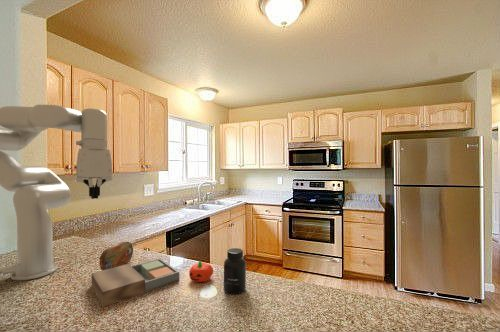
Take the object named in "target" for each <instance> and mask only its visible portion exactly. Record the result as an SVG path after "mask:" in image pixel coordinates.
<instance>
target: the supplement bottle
mask: <svg viewBox="0 0 500 332" xmlns="http://www.w3.org/2000/svg"><path fill="white" fill-rule="evenodd" d="M226 256H227V258H225V260H224V262H223V290H224V292H225V293H226V294H228V295H240V294H243V293H244V292H245V291H246V287H247V284H246V283H247V282H246V281H247V277H246V276H247V262H246V259H244V251H243V249H242V248H237V247H236V248H235V247H233V248H229V249H228V250H227V254H226Z"/></svg>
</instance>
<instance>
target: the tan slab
mask: <svg viewBox="0 0 500 332" xmlns="http://www.w3.org/2000/svg"><path fill="white" fill-rule="evenodd" d="M132 266H133V265H130V263H127V264H125V265H122V266H118V267H114V268H110V269H106V270H99V271H95V272H92V273H91V287H92V289H93V291H94V293H95V295H96V297H97V298H98V300H99V302H100V304H101V306H102V307H103V308H105V307H107V306H110V305H113V304H116V303H119V302H121V301H122V302H123V301H125V300H128V299H130V298H133V297H136V296H139V295H142V294H145V293H146V292H145V279H144V278H143V277H142V276H141V275H140V274H139V273H138V272H137V271H136V270H135V269H134V268H133V267H132Z"/></svg>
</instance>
